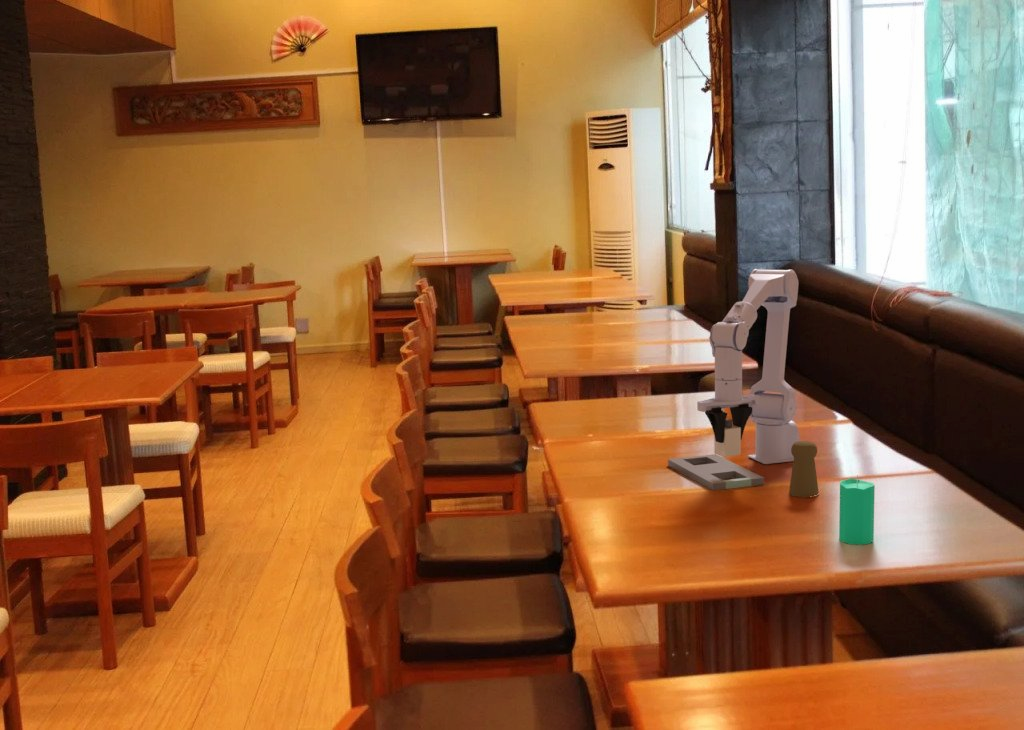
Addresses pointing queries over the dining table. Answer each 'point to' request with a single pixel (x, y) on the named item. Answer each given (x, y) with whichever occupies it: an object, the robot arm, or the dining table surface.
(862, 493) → the candle
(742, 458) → the dining table surface
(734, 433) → the plug
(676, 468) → the grey board with holes
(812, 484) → the cork
